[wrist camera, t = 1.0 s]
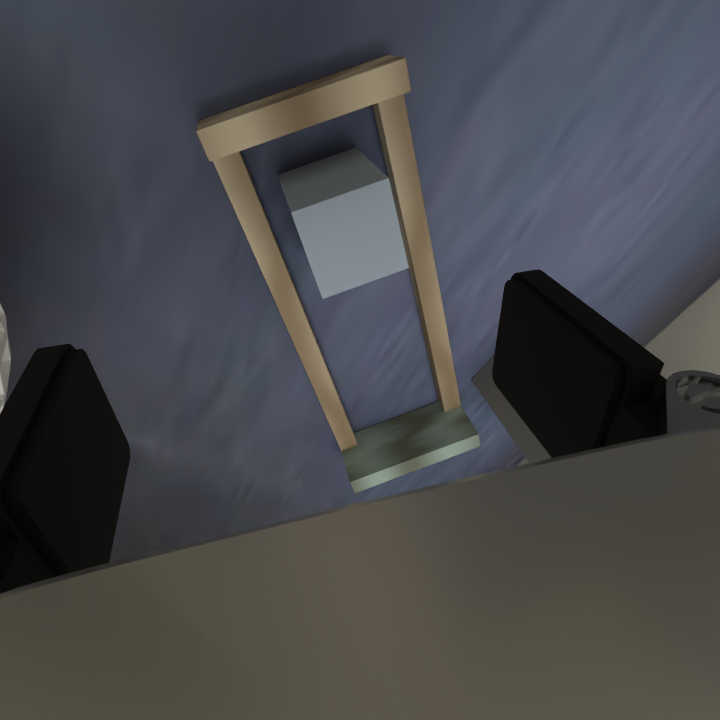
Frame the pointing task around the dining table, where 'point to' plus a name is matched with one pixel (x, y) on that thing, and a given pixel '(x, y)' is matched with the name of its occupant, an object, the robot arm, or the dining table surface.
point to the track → (386, 94)
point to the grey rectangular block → (345, 220)
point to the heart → (4, 358)
